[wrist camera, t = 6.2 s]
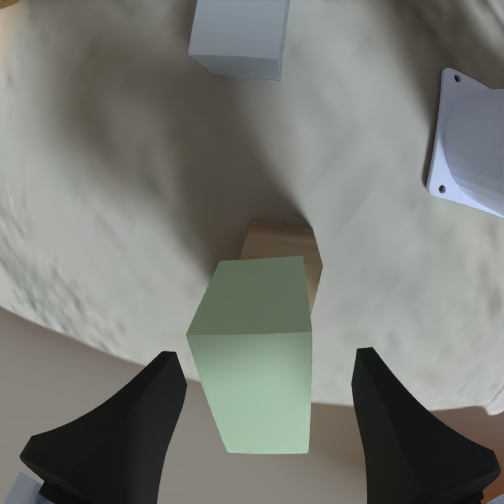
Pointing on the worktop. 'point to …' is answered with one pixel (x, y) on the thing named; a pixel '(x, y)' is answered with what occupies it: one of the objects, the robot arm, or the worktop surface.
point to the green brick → (256, 354)
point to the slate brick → (240, 37)
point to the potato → (7, 3)
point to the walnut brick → (285, 248)
